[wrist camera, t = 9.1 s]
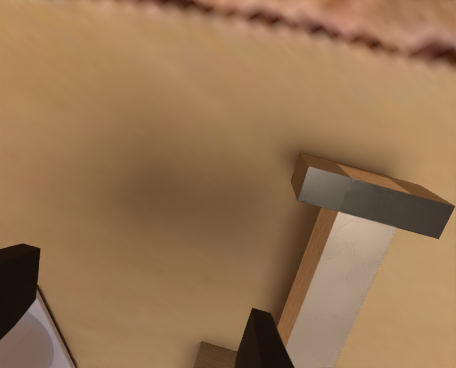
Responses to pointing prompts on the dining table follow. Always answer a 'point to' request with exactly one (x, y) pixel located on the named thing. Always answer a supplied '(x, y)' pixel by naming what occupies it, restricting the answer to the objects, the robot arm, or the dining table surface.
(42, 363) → the robot arm
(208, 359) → the bearing block
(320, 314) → the shaft
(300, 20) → the dining table surface
